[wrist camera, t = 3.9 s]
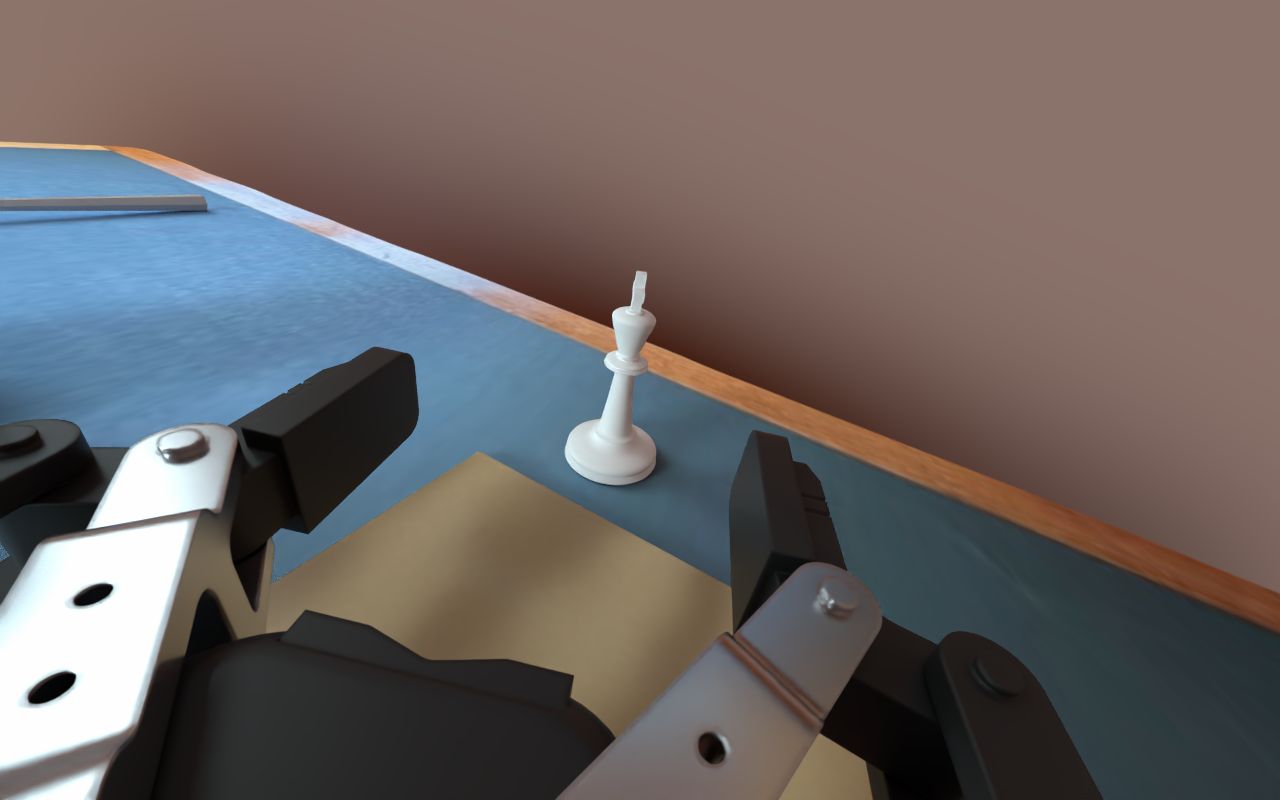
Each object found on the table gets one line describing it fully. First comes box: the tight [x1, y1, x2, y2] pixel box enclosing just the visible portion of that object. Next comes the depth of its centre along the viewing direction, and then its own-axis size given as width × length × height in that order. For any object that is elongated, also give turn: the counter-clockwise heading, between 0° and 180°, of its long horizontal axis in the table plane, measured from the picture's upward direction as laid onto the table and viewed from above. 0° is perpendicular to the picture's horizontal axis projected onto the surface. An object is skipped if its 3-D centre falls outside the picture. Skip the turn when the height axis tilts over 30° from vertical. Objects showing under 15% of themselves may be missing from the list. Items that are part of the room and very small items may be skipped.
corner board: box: [266, 451, 873, 800], centre depth 13 cm, size 24×15×1 cm, turn 62°
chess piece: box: [565, 271, 656, 485], centre depth 23 cm, size 5×5×10 cm
